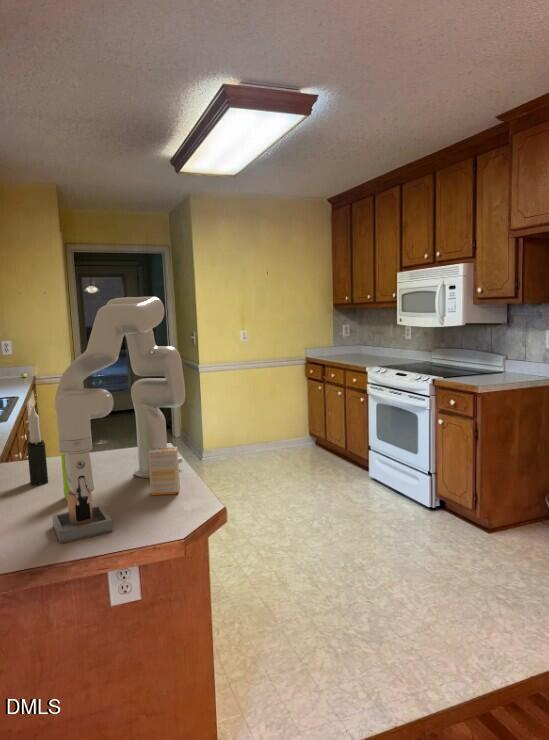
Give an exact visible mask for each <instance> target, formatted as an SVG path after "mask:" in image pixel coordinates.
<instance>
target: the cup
mask: <svg viewBox="0 0 549 740" xmlns="http://www.w3.org/2000/svg"><path fill="white" fill-rule="evenodd" d="M87 491H88V498H89V503H90V517H91V518H90V519H88V520H83V521H79V522H78V521H77V520H76V509H75V505H77V504H76V497H75V494H74V493H72V491H71V490H70V491H69V492H68V493H67V499H68V500H67V509H68V511H67V512H69V523H70V525H73V526H80V525H85V524H88V523H91V522H92V521H93V520H94V519H93V507H94V506H93V494H92V491H91V490H89V489H88V488H87ZM77 492H80V490H77ZM80 496H81V494H80V495H78V497H80Z"/></svg>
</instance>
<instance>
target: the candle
mask: <svg viewBox="0 0 549 740" xmlns="http://www.w3.org/2000/svg"><path fill="white" fill-rule="evenodd" d="M28 425H29V426H28V427H29V438H30V441H28V442H27V444H26V449H27V458H28V471H29V481H30V482H29V483H30V486H31V485H35V486H39V485H47V484H48V483H49V476H48V475H49V474H48V464H47V453H46V450H47V449H46V443H45V441H44V440H43V439H41V428H40V417H39V415H38V414H37V412H36V410H35V406H34V405H32V406H31V411H30V414H29V415H28Z"/></svg>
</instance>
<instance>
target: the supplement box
mask: <svg viewBox="0 0 549 740" xmlns="http://www.w3.org/2000/svg"><path fill="white" fill-rule="evenodd" d="M178 458H179V451H178V446H172V447H169V446H167V448H151V449H150V450H149V451H148V463H149V477H150V478H149V486H150V488H149V489H150V496H159V495H162V494H163V495H176V493H178V494H179V493H180V490H181V482H180V479H181V478H180V468H179V467H180V466H179V464H180V463H179V464H178Z"/></svg>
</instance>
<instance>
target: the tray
mask: <svg viewBox="0 0 549 740" xmlns="http://www.w3.org/2000/svg"><path fill="white" fill-rule="evenodd" d="M51 518H52V527H53V530H54V532H55V535H56V538H57V541H58V542H59V544H60V545H64V544H67V543H71V542H75V541H79V540H83V539H84V540H85V539H87V538H92V537H96V536H97V537H98V536H100V535H104V534H105V535H106V534H109V533H113V522H112V521H113V520H112V518H111V517H110V515H109V514H108V512H107V511H106V510H105V508H104V507H103V505H102V504H99V505H95V506H93V519H94V520H93V521H92V522H91V523H88V524H85V525H80V526H73V525H70V523H69V511H66V512H61V513H58V514H57V513H55V514H52V515H51Z"/></svg>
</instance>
